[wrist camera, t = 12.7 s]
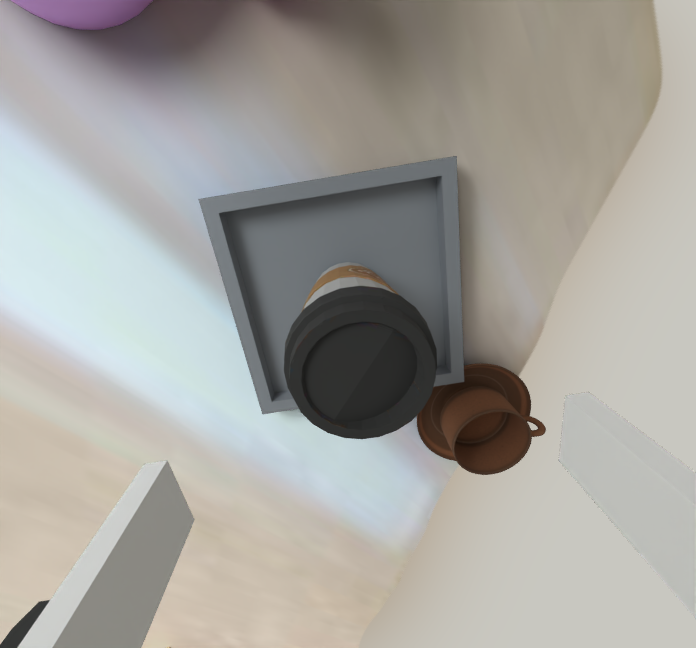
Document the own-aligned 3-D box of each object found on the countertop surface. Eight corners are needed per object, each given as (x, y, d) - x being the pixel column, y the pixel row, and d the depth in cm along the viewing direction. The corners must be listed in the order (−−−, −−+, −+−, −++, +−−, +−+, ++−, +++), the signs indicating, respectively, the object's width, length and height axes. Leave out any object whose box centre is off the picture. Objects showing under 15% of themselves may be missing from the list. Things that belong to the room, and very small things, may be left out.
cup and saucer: (510, 340, 34) (546, 369, 28) (529, 429, 38) (565, 470, 32) (398, 379, 35) (412, 415, 29) (429, 462, 39) (446, 507, 33)
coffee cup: (410, 278, 30) (480, 348, 16) (363, 351, 32) (388, 468, 18) (330, 231, 28) (330, 264, 14) (286, 312, 31) (249, 408, 17)
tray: (209, 199, 28) (198, 199, 25) (446, 159, 27) (456, 155, 25) (267, 400, 35) (262, 414, 33) (455, 369, 35) (464, 381, 32)
